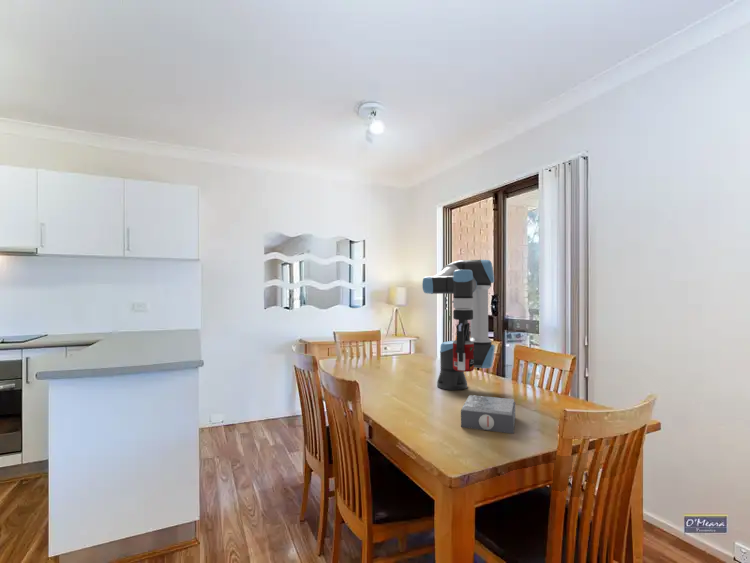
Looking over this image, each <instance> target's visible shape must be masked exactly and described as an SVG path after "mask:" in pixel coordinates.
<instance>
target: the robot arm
mask: <svg viewBox="0 0 750 563" xmlns="http://www.w3.org/2000/svg"><path fill="white" fill-rule="evenodd" d="M493 267H494V266H493V264H492V261H491V260H489V259H461V260H456V261H452V262H450V263H448V264H446V265H444V266H443V267H442V268H441V270H440V271H439V272H438V273H437V274H435V275H427V276H424V277H423V279H422V283H421V284H422V285H421V286H422V291H423V293H424V294H427V295H428V294H430V295H437V294H439V295H441V294H444V295H445V294H447V295H448V294H450V295H452V296H453V300H452V301H451V303H452V304H453V308H454V310H453V320H457V321H458V324H457V325H456V340H457V345H456V351H455V353H458V370H464V371H465V353H464V352H465V351H464V350H465V341H473V342H474V369H476V368H478V369H491V368H492V366H493V362H494V356H495V344H492V340H491V338H489V289H490V288H491V287H492V284H494V283H495V274H494V269H493ZM469 320H470V322H468V321H469ZM456 340H449V341H448V340H447V341H444V342H442V343H441V344H440V349H439V353H440V358H439V359H440V360H439V361H440V363H439V365H440V371H439V375H438V377H437V381H436V385H437V388H439V389H443V390H447V391H449V390H450V391H459V390H460V391H461V390H466V389H468V381H467V377H466V375H465V372H462V371H456V370H454V369H453V341H456Z"/></svg>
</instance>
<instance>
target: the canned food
mask: <svg viewBox="0 0 750 563" xmlns="http://www.w3.org/2000/svg"><path fill="white" fill-rule="evenodd" d="M452 341H453V369H454V370H456V371H462V372H464V373H467V372H469V373H470V372H473V371H474V369H475V368H474V342H473V341H465V350H464V351H465V352H464V353H465V371H464V370H458V353H455V351H456V345H457V339H456V341H455V340H452Z"/></svg>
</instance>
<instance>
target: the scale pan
mask: <svg viewBox="0 0 750 563" xmlns="http://www.w3.org/2000/svg"><path fill="white" fill-rule="evenodd" d="M514 402H515V399H514V398H503V397H494V396H493V397H492V396H482V395H476V394H475V395H474V394H473V395H471V394H469V395H468V397H467V398H466V400H465V402H464V404H463V405H462V408H461V409H462V410H465V411H474V412H483V413H492V414H501V415H510V416H512V411H513V405H514Z"/></svg>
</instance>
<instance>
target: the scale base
mask: <svg viewBox="0 0 750 563" xmlns="http://www.w3.org/2000/svg"><path fill="white" fill-rule="evenodd" d="M515 421H516V401H514V405H513V411H512V416H510V415H501V414H492V413H483V412H474V411H465V410H462V408H461V410H460V427H461V428H464V429H465V428H468V429H475V430H481V431H488V432H489V431H490V432H495V433H496V432H498V433H505V434H512V435H513V434H515V433H514V432H515V423H516V422H515Z"/></svg>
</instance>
